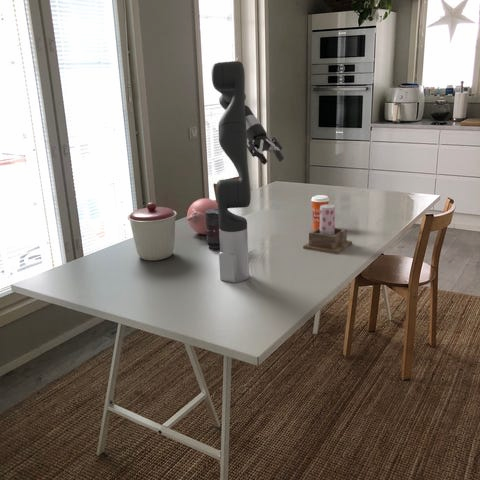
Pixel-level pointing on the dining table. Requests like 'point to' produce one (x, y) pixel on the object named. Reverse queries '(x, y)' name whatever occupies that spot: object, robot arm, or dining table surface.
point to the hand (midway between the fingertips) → (274, 161)
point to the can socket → (328, 241)
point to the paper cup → (318, 208)
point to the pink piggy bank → (200, 214)
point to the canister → (153, 231)
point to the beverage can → (327, 219)
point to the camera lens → (212, 229)
